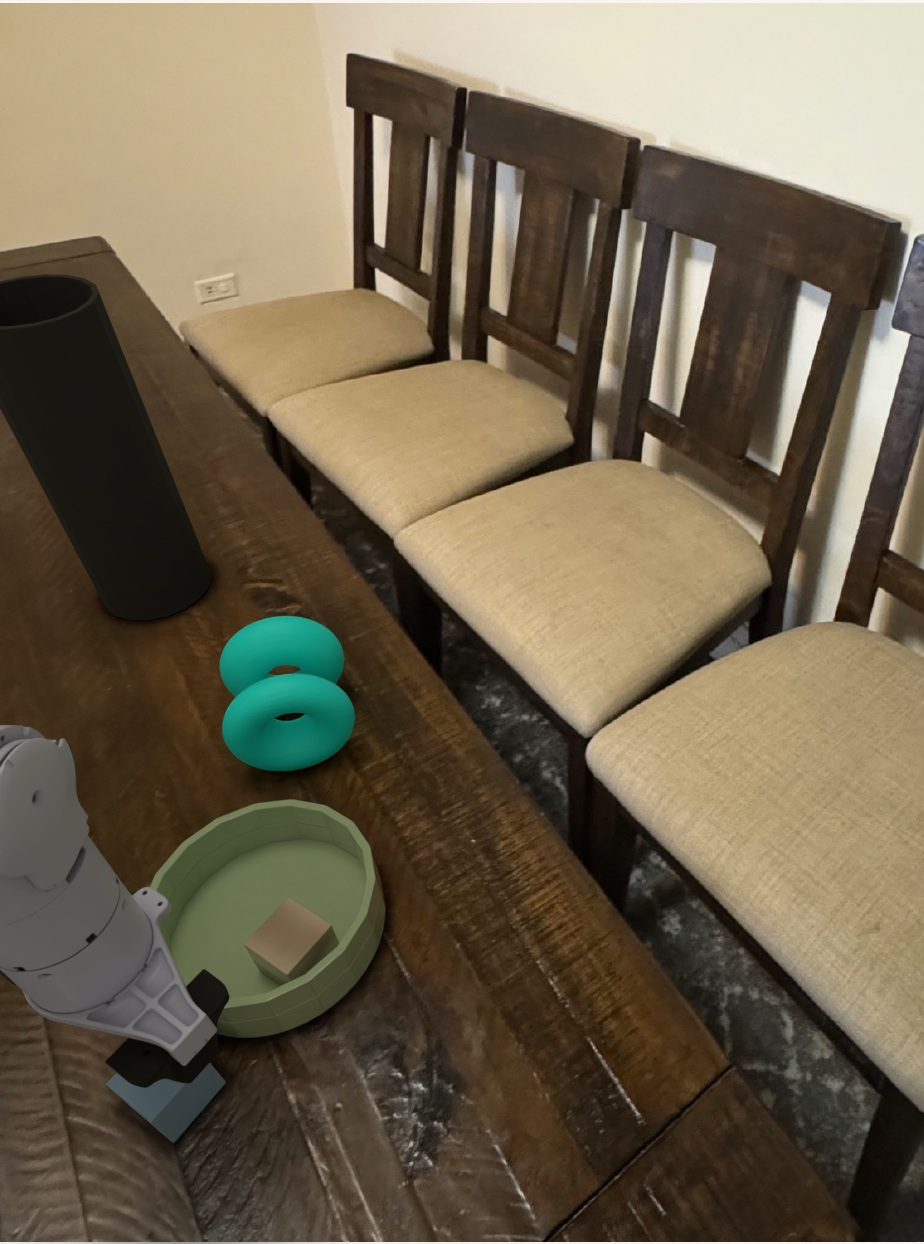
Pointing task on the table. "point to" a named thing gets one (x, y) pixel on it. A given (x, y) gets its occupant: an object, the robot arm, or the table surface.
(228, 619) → the table surface
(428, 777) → the table surface
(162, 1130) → the blue block
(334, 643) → the donuts
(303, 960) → the brown block
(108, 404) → the vase
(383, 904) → the green shallow bowl
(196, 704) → the table surface
